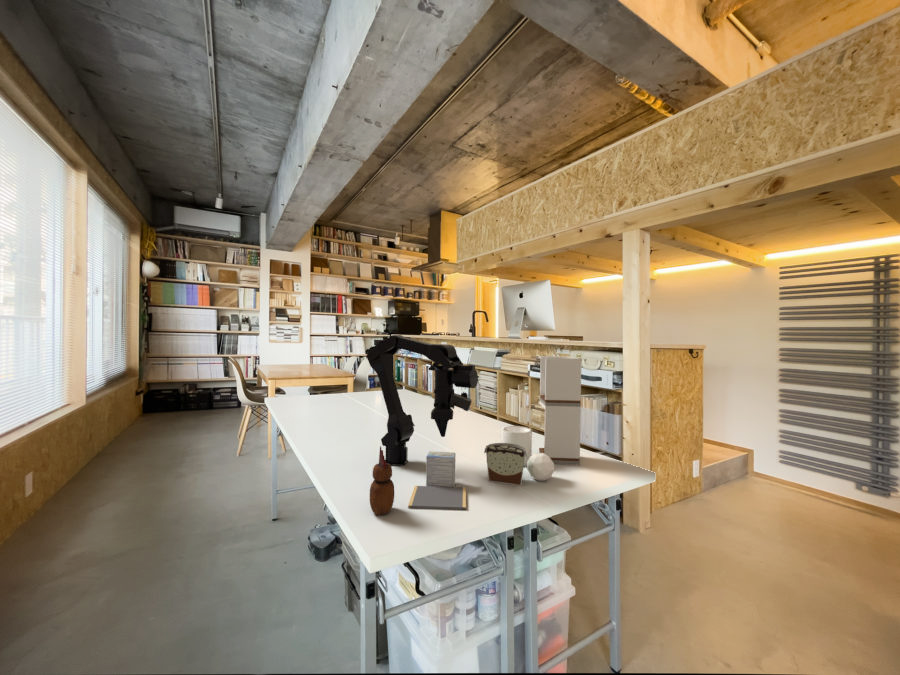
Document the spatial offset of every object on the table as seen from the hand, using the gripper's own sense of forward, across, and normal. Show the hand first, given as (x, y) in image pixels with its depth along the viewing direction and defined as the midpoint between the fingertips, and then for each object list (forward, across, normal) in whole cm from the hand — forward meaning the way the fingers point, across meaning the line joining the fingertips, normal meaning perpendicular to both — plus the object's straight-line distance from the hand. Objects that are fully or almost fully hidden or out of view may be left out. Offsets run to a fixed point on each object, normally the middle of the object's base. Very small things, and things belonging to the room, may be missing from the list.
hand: (443, 436), depth 115 cm
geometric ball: (+11, -3, -29) cm, 31 cm away
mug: (+11, +14, -24) cm, 30 cm away
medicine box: (+11, -9, 0) cm, 15 cm away
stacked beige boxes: (+11, +16, -39) cm, 44 cm away
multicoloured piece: (+11, -4, -19) cm, 23 cm away
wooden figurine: (+11, -26, +13) cm, 31 cm away
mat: (+11, -18, 0) cm, 21 cm away
